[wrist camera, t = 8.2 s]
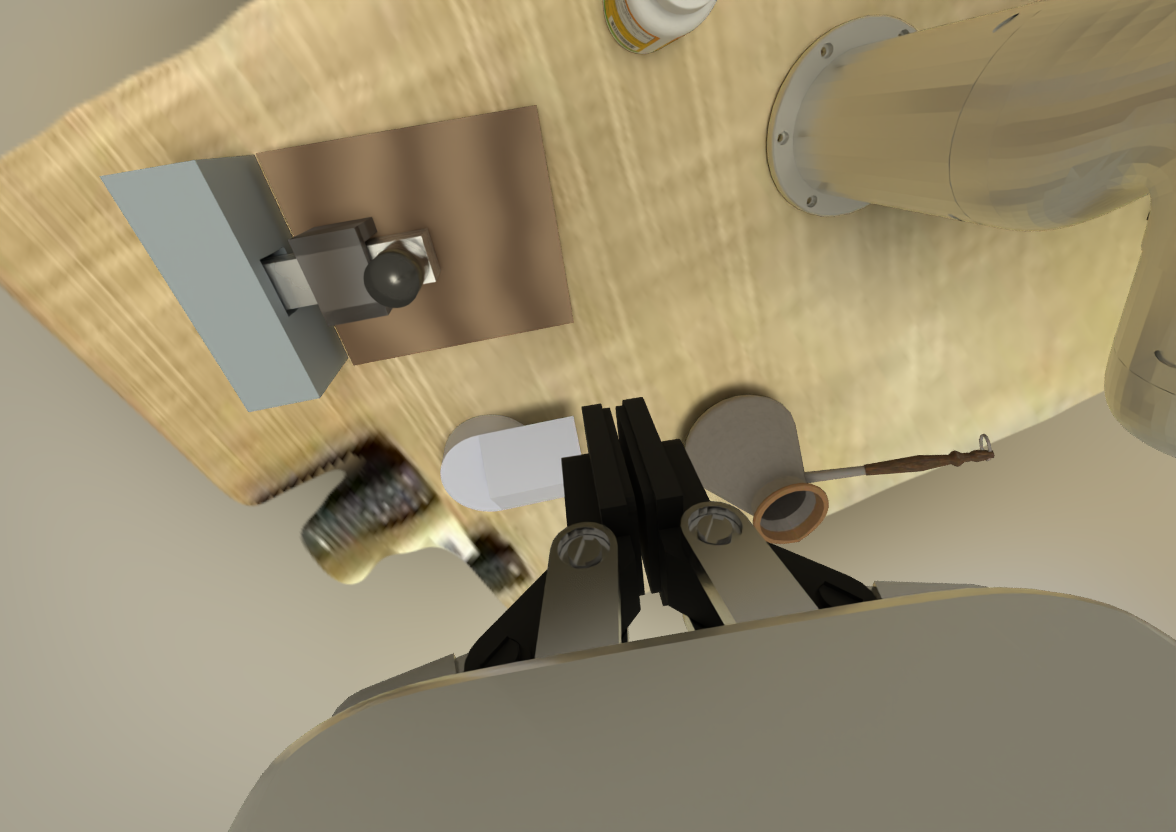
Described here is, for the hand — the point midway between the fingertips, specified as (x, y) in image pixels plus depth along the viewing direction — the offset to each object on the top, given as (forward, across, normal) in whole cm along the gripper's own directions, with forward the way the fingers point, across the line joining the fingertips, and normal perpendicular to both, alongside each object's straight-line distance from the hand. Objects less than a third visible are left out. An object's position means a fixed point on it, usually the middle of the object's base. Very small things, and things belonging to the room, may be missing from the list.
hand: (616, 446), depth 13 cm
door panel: (+28, +9, -1) cm, 29 cm away
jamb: (+27, +22, -1) cm, 35 cm away
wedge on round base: (+28, +8, +19) cm, 35 cm away
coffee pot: (+29, -19, +20) cm, 40 cm away
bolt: (+25, +15, -1) cm, 30 cm away
